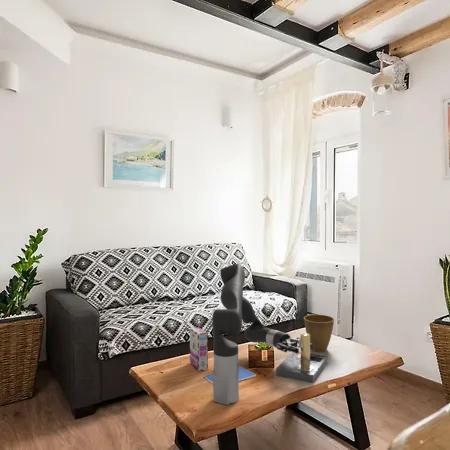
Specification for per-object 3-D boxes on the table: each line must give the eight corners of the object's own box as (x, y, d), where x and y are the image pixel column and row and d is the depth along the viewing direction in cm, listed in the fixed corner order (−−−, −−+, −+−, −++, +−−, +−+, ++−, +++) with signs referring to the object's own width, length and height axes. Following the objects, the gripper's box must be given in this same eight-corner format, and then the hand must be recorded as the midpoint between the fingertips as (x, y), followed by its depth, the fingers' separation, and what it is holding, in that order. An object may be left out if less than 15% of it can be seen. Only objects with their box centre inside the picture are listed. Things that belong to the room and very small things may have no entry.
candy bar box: (208, 369, 170) (208, 332, 170) (198, 371, 168) (197, 334, 167) (199, 361, 180) (199, 326, 180) (189, 362, 178) (189, 327, 178)
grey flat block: (313, 382, 155) (313, 374, 155) (276, 375, 163) (276, 367, 162) (327, 362, 176) (327, 355, 176) (293, 357, 184) (293, 350, 184)
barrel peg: (308, 370, 160) (308, 336, 160) (299, 368, 162) (299, 335, 161) (311, 366, 163) (311, 334, 163) (302, 365, 165) (301, 332, 165)
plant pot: (298, 346, 198) (298, 316, 198) (322, 343, 204) (322, 313, 203) (315, 356, 184) (314, 323, 184) (340, 352, 190) (340, 320, 189)
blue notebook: (218, 389, 151) (218, 386, 151) (202, 378, 162) (202, 375, 162) (257, 377, 162) (257, 374, 162) (240, 368, 172) (240, 365, 172)
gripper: (266, 334, 171) (293, 343, 158) (288, 328, 180) (316, 336, 167) (266, 351, 171) (293, 361, 158) (289, 344, 180) (316, 353, 167)
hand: (305, 348), depth 162 cm, fingers open, 8 cm apart
